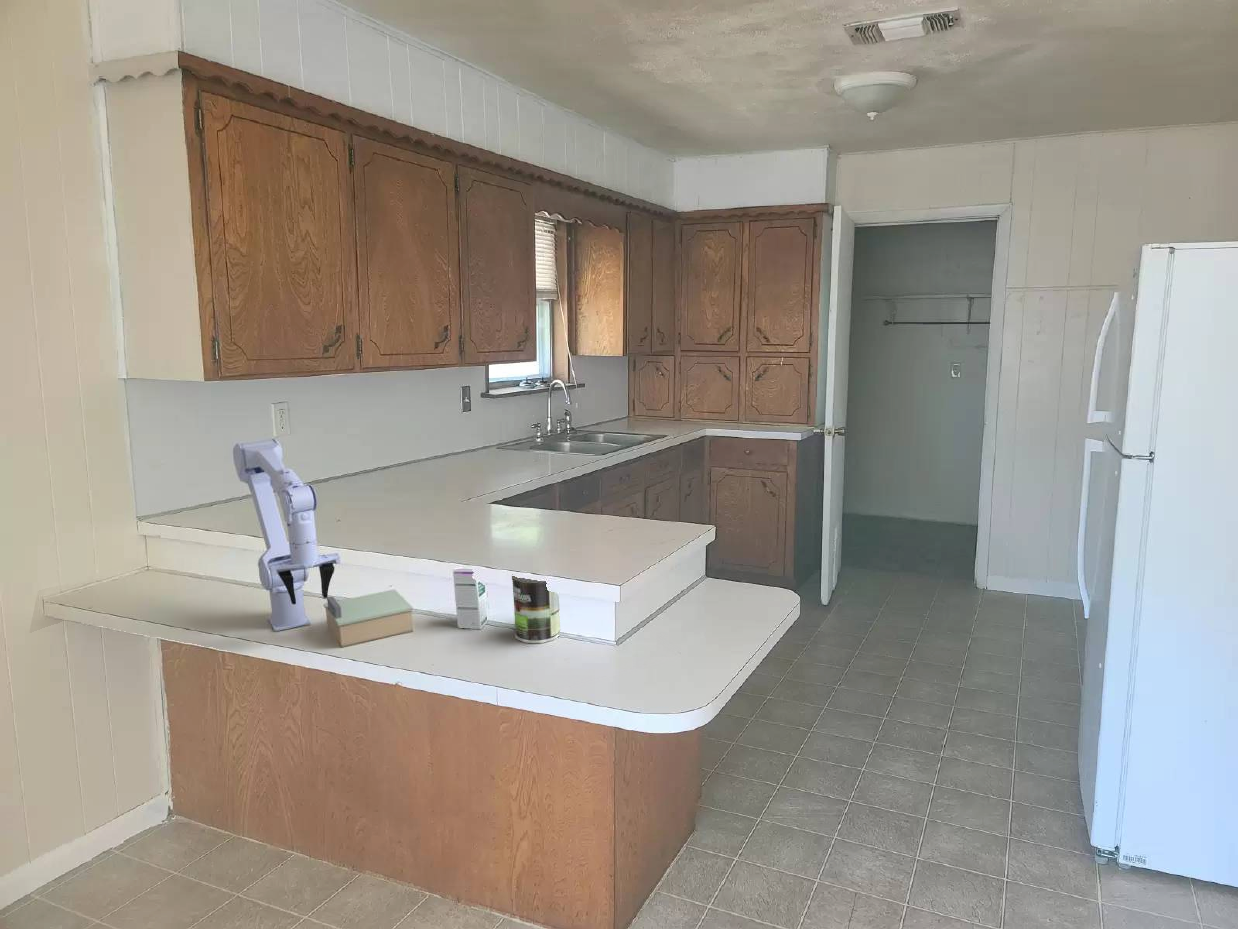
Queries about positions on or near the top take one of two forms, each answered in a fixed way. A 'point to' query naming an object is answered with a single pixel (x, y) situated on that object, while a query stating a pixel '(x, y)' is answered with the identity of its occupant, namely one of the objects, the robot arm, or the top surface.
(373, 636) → the mailer box
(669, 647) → the top surface
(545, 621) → the coffee can
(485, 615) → the syrup box
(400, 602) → the lid
